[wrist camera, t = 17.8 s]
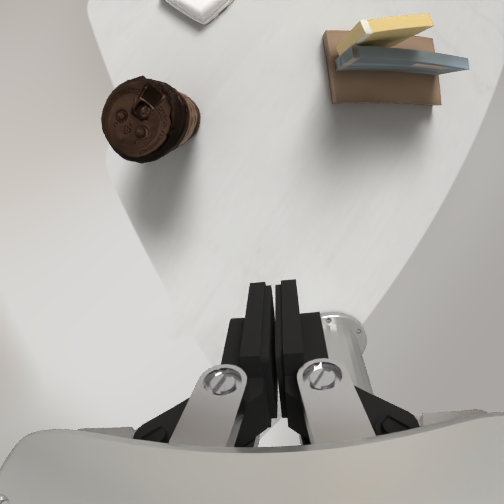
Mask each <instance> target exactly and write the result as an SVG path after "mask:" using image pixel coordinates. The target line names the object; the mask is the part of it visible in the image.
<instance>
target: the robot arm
mask: <svg viewBox="0 0 504 504" xmlns="http://www.w3.org/2000/svg"><path fill="white" fill-rule="evenodd" d="M366 341H367V340H366V334H365V331H364V328H363V326H362V325H361V324H360V322H359V321H357V320H356V319H355V318H353V317H351V316H349V315H346V314H343V313H334V312H333V313H324V314H320V312H314V313H303V314H300V313H299V304H298V295H297V286H296V279H295V280H283V281H281V285H276V311H275V316H274V306H273V297H272V288H271V285H270V286H266V284H265V282H259V283H250V287H249V294H248V301H247V308H246V315H245V318H234V319H231V320H230V323H229V328H228V333H227V338H226V343H225V347H224V352H223V357H222V362H221V365H217V366H214V367H212V368H209V369H208V370H206V371H205V372H204V373H203V374H202V375H201V376H200V378H199V380H198V382H197V384H196V386H195V388H194V391H193V392H192V394H191V397H190V398H188V399H186V400H185V401H183V402H181V403H180V404H178V405H177V406H175V407H173V408H171V409H170V410H168V411H166V412H164V413H163V414H161V415H159V416H157V417H156V418H154V419H152V420H150V421H149V422H147V423H145V424H143V425H142V426H141V427H139V428H138V429H137V430H134V429H133V428H132V427H121V428H84V429H78V430H69V429H52V430H43V431H37V432H34V433H31V434H28V435H27V436H25V437H23V438H22V439H21V440H20V441H19V442H18V443H17V444H16V445H15V447H14V448H13V449H12V451H11V452H10V454H9V455H8V457H7V458H6V460H5V461H4V463H3V465H2V466H1V468H0V504H504V412H503V413H502V412H492V413H487V412H485V411H483V410H477V409H473V410H464V411H452V412H437V413H423V414H422V416H421V417H415V416H414V415H412V414H411V413H409V412H408V411H405V410H404V409H401V408H399V407H397V406H395V405H393V404H391V403H389V402H387V401H385V400H383V399H381V398H379V397H376V396H374V395H373V391H372V387H371V384H370V380H369V377H368V374H367V370H366V367H365V364H364V360H363V357H362V354H363V352H364V350H365V347H366ZM278 385H279V394H280V403H281V412H282V418H288V426H289V427H290V428H291V429H293V430H294V431H296V432H297V433H299V434H300V443H301V445H299V446H283V447H258V444H259V434H260V433H262V432H263V431H264V430H266V429H267V428H268V427H271V418H277V402H278Z"/></svg>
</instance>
